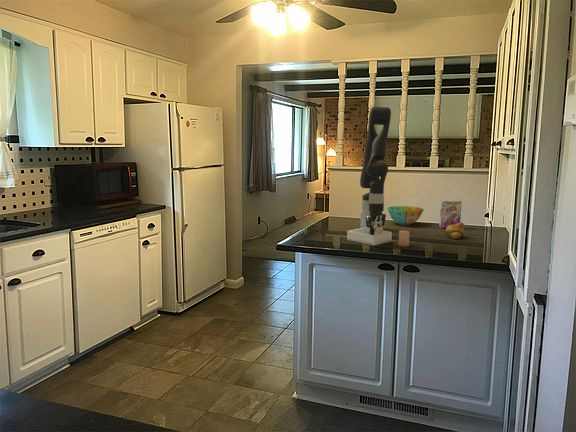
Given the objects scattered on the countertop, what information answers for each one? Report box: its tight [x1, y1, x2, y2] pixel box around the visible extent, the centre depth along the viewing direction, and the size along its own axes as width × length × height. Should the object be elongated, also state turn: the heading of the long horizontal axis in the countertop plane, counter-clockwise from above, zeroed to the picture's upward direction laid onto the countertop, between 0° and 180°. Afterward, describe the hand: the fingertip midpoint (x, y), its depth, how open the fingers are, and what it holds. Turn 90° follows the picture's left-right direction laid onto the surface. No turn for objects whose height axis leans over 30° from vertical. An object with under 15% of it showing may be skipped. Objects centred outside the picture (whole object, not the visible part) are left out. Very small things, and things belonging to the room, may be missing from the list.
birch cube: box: [369, 226, 384, 235], centre depth 236 cm, size 5×5×5 cm
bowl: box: [386, 205, 425, 226], centre depth 287 cm, size 22×22×10 cm
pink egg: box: [398, 230, 410, 247], centre depth 229 cm, size 5×5×7 cm
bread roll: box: [444, 221, 466, 240], centre depth 247 cm, size 13×10×8 cm
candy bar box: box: [439, 199, 462, 229], centre depth 274 cm, size 11×5×16 cm, turn 84°
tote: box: [346, 227, 393, 246], centre depth 239 cm, size 18×15×5 cm
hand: (375, 234), depth 236 cm, fingers closed on birch cube, 4 cm apart
